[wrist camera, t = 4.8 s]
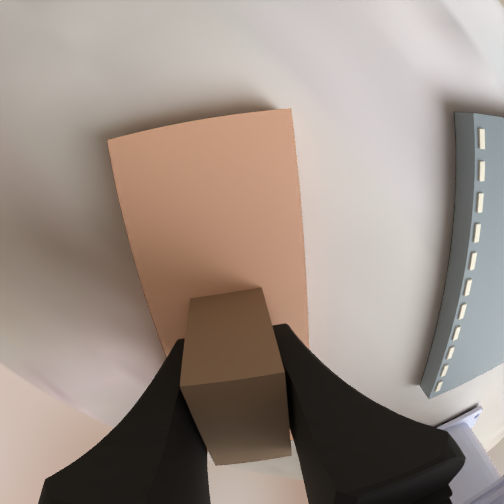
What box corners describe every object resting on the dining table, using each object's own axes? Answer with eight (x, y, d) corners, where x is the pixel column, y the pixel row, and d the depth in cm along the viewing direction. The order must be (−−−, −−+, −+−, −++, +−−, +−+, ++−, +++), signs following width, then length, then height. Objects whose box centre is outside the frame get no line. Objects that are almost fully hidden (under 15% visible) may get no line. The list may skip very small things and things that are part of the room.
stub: (305, 422, 15) (327, 499, 10) (207, 437, 15) (209, 516, 10) (284, 110, 9) (343, 96, 5) (117, 138, 9) (36, 152, 4)
